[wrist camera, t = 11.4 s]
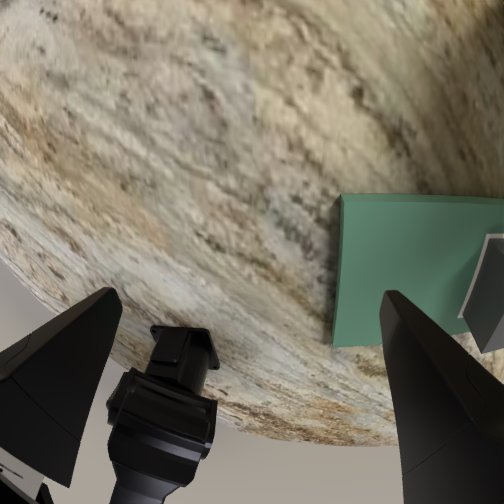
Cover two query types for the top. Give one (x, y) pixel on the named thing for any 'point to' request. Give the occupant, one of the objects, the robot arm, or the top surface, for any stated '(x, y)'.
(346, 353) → the top surface
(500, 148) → the top surface
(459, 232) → the board
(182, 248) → the top surface
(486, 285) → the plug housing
